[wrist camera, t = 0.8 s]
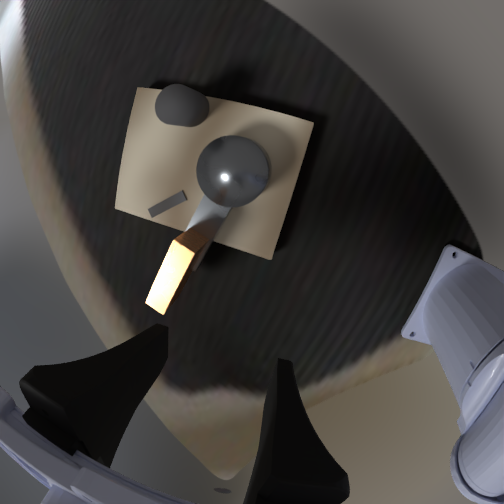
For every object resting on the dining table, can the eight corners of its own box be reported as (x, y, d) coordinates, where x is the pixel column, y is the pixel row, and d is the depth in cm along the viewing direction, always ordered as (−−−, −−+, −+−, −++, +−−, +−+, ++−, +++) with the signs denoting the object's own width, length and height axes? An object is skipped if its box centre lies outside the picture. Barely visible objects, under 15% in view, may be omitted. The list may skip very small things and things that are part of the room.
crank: (226, 124, 16) (208, 120, 13) (284, 158, 16) (279, 160, 13) (153, 270, 20) (129, 291, 17) (198, 300, 21) (180, 326, 17)
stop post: (213, 94, 16) (198, 86, 13) (204, 130, 17) (187, 128, 14) (179, 89, 16) (160, 81, 13) (170, 123, 17) (150, 121, 14)
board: (313, 124, 16) (314, 122, 15) (272, 254, 20) (270, 260, 19) (144, 89, 17) (136, 87, 16) (122, 205, 20) (114, 208, 19)
